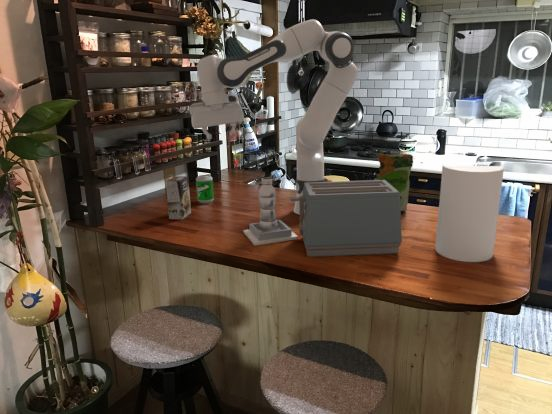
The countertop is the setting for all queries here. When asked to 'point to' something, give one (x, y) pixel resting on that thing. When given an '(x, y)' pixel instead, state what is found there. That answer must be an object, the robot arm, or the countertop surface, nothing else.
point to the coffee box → (178, 197)
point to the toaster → (350, 218)
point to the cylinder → (468, 212)
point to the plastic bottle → (267, 206)
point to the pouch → (396, 174)
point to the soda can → (204, 189)
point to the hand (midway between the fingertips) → (221, 137)
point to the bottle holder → (269, 234)
